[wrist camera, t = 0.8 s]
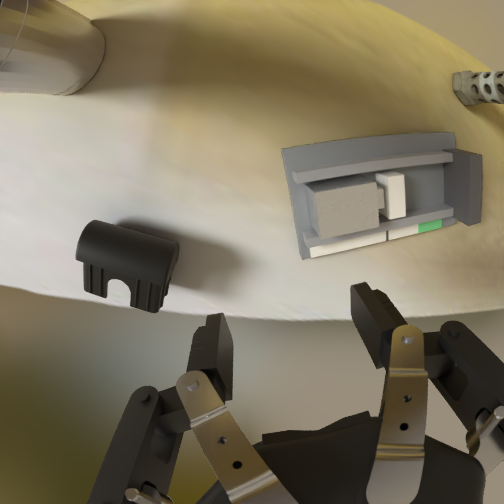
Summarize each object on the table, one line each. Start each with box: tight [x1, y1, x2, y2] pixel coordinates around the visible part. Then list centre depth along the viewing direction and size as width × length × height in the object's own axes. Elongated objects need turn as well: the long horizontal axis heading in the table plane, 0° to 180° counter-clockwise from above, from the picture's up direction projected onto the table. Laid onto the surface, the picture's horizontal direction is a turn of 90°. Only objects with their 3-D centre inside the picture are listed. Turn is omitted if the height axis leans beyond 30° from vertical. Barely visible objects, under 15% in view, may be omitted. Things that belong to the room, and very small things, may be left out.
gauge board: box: [281, 132, 483, 260], centre depth 25 cm, size 12×22×6 cm, turn 102°
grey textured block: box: [305, 175, 384, 239], centre depth 25 cm, size 4×8×4 cm, turn 102°
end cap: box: [76, 220, 179, 313], centre depth 27 cm, size 10×7×7 cm
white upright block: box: [375, 170, 406, 219], centre depth 26 cm, size 4×2×3 cm, turn 12°
